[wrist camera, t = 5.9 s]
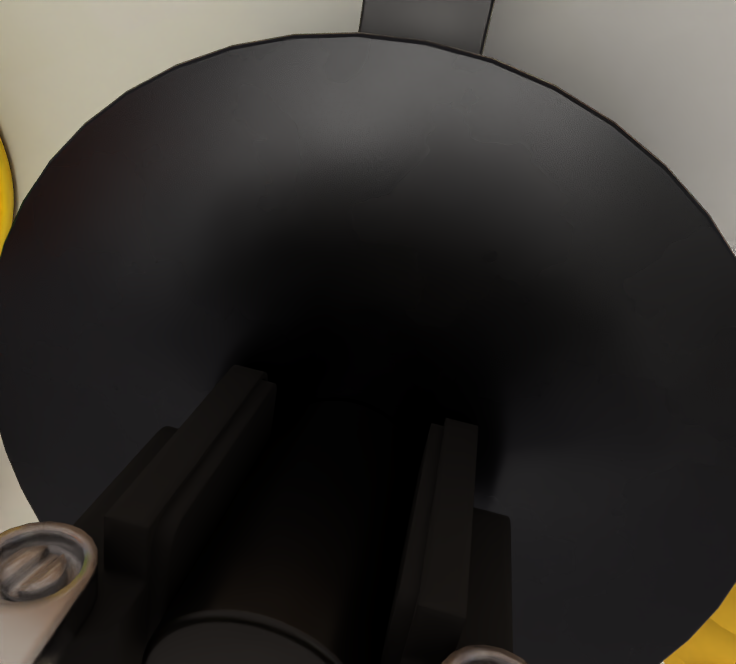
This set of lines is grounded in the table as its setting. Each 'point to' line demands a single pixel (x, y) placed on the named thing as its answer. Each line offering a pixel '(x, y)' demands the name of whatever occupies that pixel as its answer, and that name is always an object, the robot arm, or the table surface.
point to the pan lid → (385, 341)
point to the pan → (430, 21)
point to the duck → (712, 638)
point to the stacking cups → (5, 196)
